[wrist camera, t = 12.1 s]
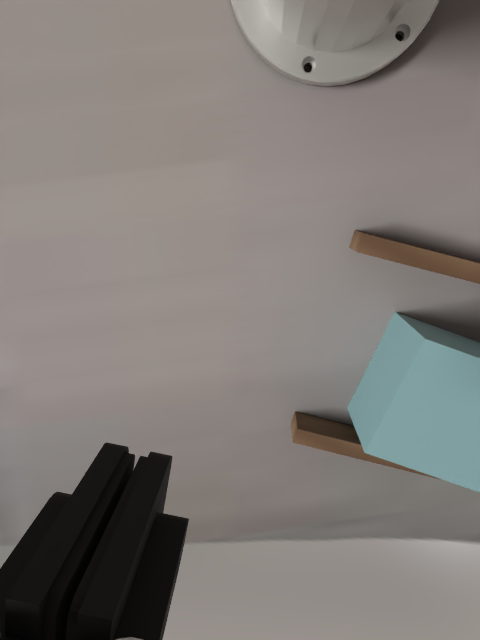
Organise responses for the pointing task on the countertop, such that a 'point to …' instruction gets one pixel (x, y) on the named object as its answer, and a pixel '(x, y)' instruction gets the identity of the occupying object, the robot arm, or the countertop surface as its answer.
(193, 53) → the countertop surface
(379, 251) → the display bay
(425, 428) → the carton
